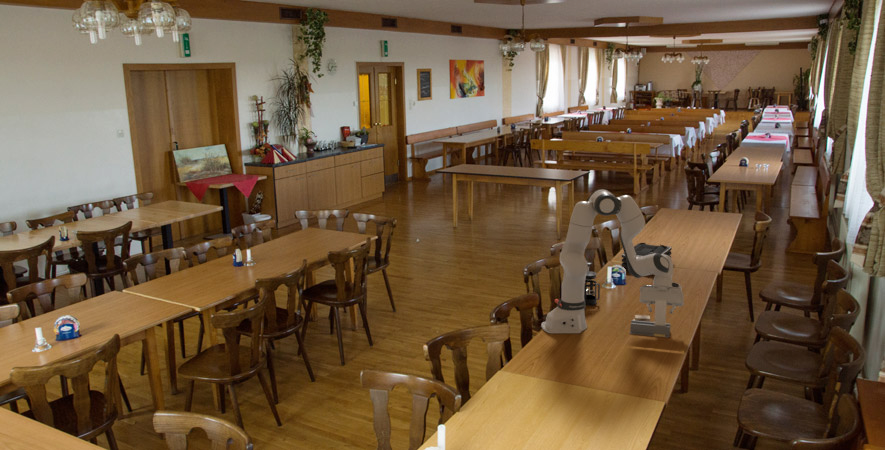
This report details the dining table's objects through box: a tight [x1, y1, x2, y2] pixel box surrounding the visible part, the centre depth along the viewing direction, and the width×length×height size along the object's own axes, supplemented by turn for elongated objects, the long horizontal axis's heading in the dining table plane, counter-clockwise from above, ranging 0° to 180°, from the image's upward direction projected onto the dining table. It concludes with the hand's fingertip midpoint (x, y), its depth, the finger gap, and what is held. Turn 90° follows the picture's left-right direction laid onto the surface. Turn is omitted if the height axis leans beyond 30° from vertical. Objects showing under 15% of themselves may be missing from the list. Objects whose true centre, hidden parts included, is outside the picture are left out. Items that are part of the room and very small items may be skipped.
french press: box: [584, 261, 601, 307], centre depth 364 cm, size 12×9×23 cm
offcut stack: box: [632, 314, 651, 322], centre depth 327 cm, size 8×5×5 cm, turn 70°
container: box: [621, 242, 673, 277], centre depth 430 cm, size 22×35×13 cm, turn 146°
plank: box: [654, 300, 667, 326], centre depth 318 cm, size 5×2×16 cm, turn 70°
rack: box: [629, 319, 671, 338], centre depth 322 cm, size 18×14×5 cm
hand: (660, 312), depth 317 cm, fingers open, 8 cm apart
